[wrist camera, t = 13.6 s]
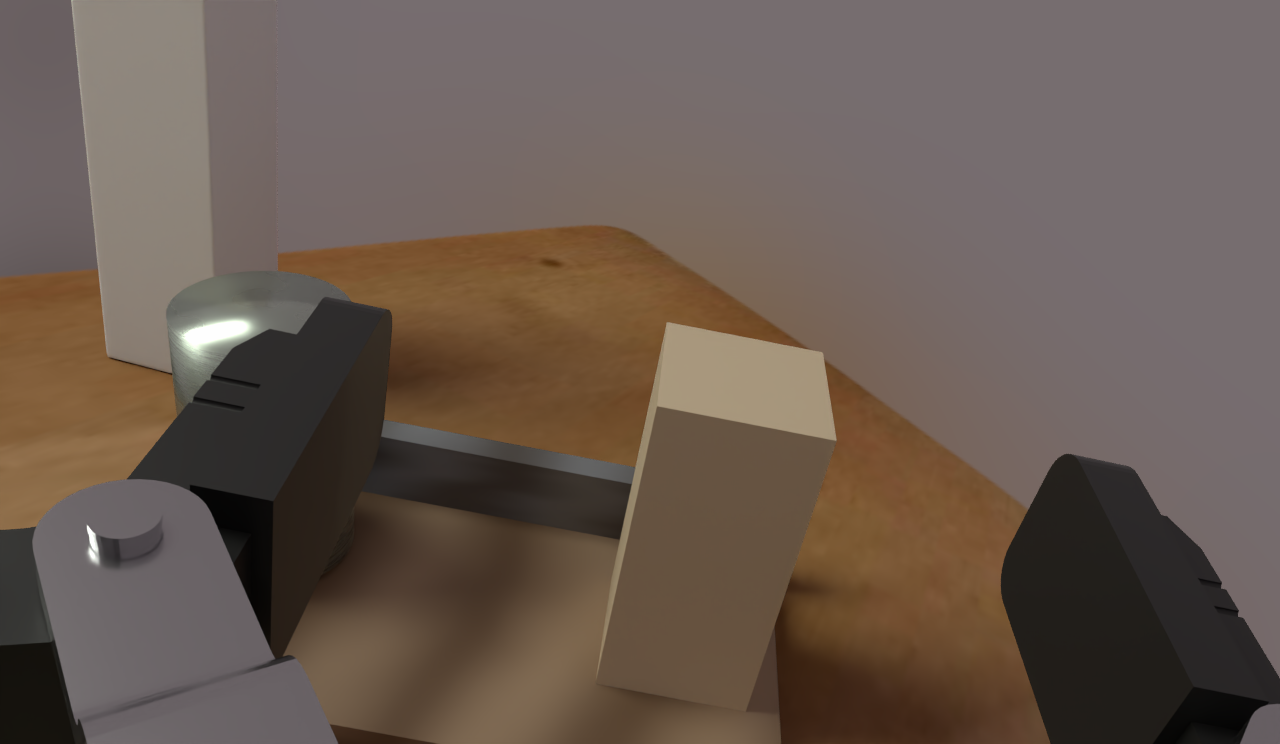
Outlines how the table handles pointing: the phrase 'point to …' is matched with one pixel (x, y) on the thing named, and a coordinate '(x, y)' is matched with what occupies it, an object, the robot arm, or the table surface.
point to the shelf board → (490, 607)
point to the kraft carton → (715, 515)
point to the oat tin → (240, 331)
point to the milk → (176, 153)
